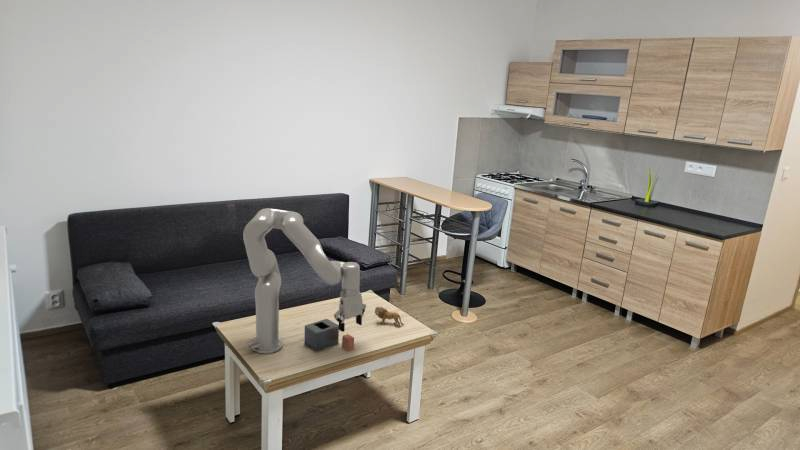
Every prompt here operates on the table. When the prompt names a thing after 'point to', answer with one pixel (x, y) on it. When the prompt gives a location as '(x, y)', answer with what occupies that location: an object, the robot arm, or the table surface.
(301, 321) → the table surface
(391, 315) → the lion figurine
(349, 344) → the block
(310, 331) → the box
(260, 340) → the robot arm
